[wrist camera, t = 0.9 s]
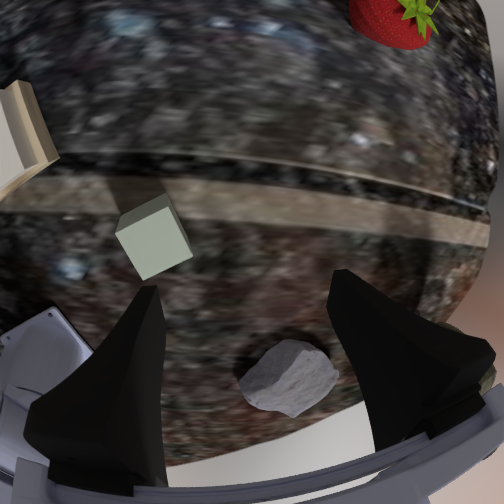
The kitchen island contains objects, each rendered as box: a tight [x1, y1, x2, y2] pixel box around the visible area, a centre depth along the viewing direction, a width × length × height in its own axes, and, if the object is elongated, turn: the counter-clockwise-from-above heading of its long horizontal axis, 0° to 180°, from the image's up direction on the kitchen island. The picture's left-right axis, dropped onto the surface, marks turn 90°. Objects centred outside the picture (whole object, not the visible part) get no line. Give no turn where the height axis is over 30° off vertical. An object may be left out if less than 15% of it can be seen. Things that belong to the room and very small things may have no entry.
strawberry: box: [349, 0, 440, 50], centre depth 15 cm, size 6×8×10 cm
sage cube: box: [115, 193, 193, 280], centre depth 21 cm, size 4×4×4 cm
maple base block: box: [0, 80, 60, 201], centre depth 15 cm, size 7×7×3 cm
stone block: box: [239, 339, 339, 418], centre depth 34 cm, size 12×5×10 cm
